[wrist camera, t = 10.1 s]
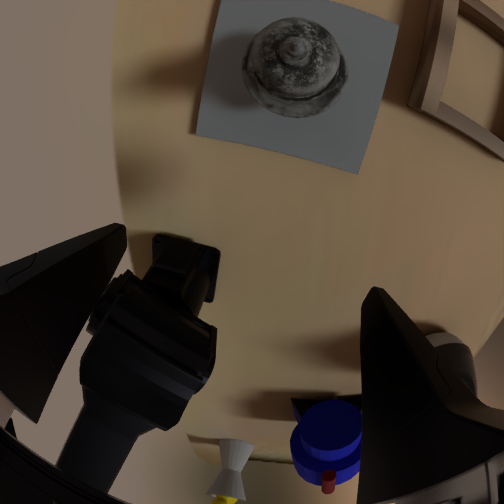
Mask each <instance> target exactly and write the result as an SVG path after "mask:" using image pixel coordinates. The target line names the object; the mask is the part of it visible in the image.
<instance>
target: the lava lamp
mask: <svg viewBox="0 0 504 504" xmlns="http://www.w3.org/2000/svg"><path fill="white" fill-rule="evenodd" d="M219 447H220V456H221V464H222V471H221V472H220V473H219V475H218V476H217V478H216V479H215V481H214V482H213V484H212V485H211V486H210V488H209V489H208V491H207V492H206V494H207V495H210V496H214V497H217V499H215V500H213V501H212V503H211V504H234V503H235V502H236V501H245V500H246V499H245V494H244V489H243V484H242V479H241V474H240V472H241V470H242V469H243V467H244V465H245V463H246V461H247V460H248V458H249V456H250V454H251V453H252V451H253V449H254V445H252V444H250V443H248V442H245V441H241V440H235V439H221V440H219Z"/></svg>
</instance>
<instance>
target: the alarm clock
mask: <svg viewBox="0 0 504 504" xmlns="http://www.w3.org/2000/svg"><path fill="white" fill-rule="evenodd" d="M291 401H292V405H293V408H294V412H295V416H296V420H297V422H298V425H297V426H296V427H295V429H294V430H293V432H292V436H291V439H290V448H291V454H292V458H293V463H294V466H295V468H296V470H297V472H298V474H299V475H300V476H301V477H302V478H303V479H304V480H305V481H307V482H309V483H312V484H314V485H319V486H322V492H323V493H324V494H331V493H332V492H333V491H334V489H335V485H338V484H341V483H343V482H345V481H348V480H350V479H351V478H352V477H353V476H355V475H356V474H357V473H358V472H359V471H360V455H361V434H362V397H360V398H358V399H356V400H354V401H352V402H350V403H349V402H345V401H342V400H328V401H323V402H320V403H318V404H316V405H310V404H307V403H304V402H301V401H298V400H295V399H292V398H291Z"/></svg>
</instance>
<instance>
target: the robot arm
mask: <svg viewBox="0 0 504 504" xmlns="http://www.w3.org/2000/svg"><path fill="white" fill-rule="evenodd" d="M157 239H158V240H159V241H158V240H157ZM126 248H127V235H126V227H125V226H124V225H122V224H119V223H113V224H110V225H107V226H105V227H102V228H99V229H96V230H93V231H91V232H88V233H85V234H82V235H79V236H77V237H74V238H72V239H69V240H66V241H64V242H61V243H59V244H56V245H54V246H51V247H48V248H46V249H44V250H41V251H39V252H38V253H34V254H31V255H29V256H26V257H24V258H22V259H19V260H17V261H14V262H11V263H9V264H6V265H3V266H1V267H0V504H131V503H128V502H125V501H123V500H121V499H118V498H116V497H114V496H111V495H109V494H107V493H108V491H109V489H110V488H111V486H112V484H113V482H114V480H115V478H116V476H117V475H118V473H119V471H120V469H121V467H122V465H123V463H124V462H125V460H126V458H127V456H128V454H129V452H130V450H131V449H132V447H133V445H134V443H135V441H136V440H137V438H138V436H140V435H142V434H144V433H146V432H148V431H150V430H152V429H155V428H159V429H162V430H163V431H167V430H169V429H170V428H172V427H173V426H175V425H176V424H177V423H178V422H179V421H180V418H181V416H182V414H183V412H184V410H185V408H186V406H187V404H188V402H189V400H190V398H191V397H192V395H193V394H196V393H197V392H199V391H200V390H201V389H202V388H203V386H204V385H205V384H206V382H207V380H208V379H209V377H210V375H211V373H212V370H213V368H214V364H215V359H216V341H217V328H216V327H214V326H213V325H211V326H210V325H209V324H207V323H206V322H204V321H202V320H201V319H199V318H198V315H199V312H200V309H201V307H202V304H203V302H207V303H211V302H213V299H214V295H215V288H216V282H217V275H218V269H219V262H220V256H221V253H220V251H219V250H218V249H215V248H211V247H207V246H203V245H199V244H197V243H193V242H189V241H185V240H181V239H177V238H171V237H167V236H163V235H159V234H157V235H155V236H154V237H153V239H152V251H153V264H152V265H151V267H150V268H149V270H148V271H147V273H146V274H145V276H144V277H143V279H142V280H141V279H139V278H138V277H136V276H135V275H134V274H133V272H131V271H130V270H129V269H127V271H126V272H125V273H124V274H123V275H122V274H120V275H119V277H118V278H113V280H112V281H111V278H112V277H113V275H114V272H115V271H116V268H117V267H118V265H119V262H120V261H121V258H122V257H123V255H124V253H125V251H126ZM213 253H215V254H216V255H217V256H215V255H213ZM110 281H111V282H110ZM109 282H110V284H109ZM108 284H109V285H108ZM208 297H209V298H208ZM89 316H90V318H89ZM88 318H89V324H88V326H87V329H86V331H87V332H88V333H90V334H91V335H93V337H92V339H91V340H90V342H89V344H88V346H87V348H86V350H85V351H84V353H83V355H82V357H81V360H80V369H79V370H80V384H81V385H82V391H83V400H84V404H83V407H82V408H81V410H80V413H79V415H78V417H77V419H76V421H75V423H74V425H73V427H72V429H71V431H70V433H69V435H68V437H67V440H66V442H65V444H64V446H63V448H62V450H61V453H60V455H59V457H58V459H57V462H56V464H55V465H53V464H52V463H50V462H48V461H47V460H45V459H44V458H42V457H41V456H39V455H38V454H36V453H35V452H34V451H32V450H31V449H29V448H28V447H27V446H25V445H24V444H23V443H21V442H20V441H18V440H17V438H16V433H15V429H14V425H13V421H12V418H10V416H11V414H12V413H13V411H14V409H16V410H17V411H19V412H20V413H21V414H22V415H24V416H25V417H27V418H28V419H29V420H31V421H32V422H34V423H36V424H37V423H38V421H39V418H40V416H41V413H42V411H43V408H44V406H45V404H46V402H47V399H48V397H49V395H50V393H51V390H52V388H53V386H54V384H55V381H56V380H57V377H58V374H59V373H60V371H61V369H62V367H63V365H64V363H65V361H66V359H67V357H68V355H69V353H70V351H71V349H72V347H73V345H74V343H75V341H76V339H77V337H78V336H79V334H80V332H81V330H82V328H83V327H84V325H85V323H86V321H87V320H88ZM360 356H361V381H362V434H361V455H360V471H359V484H358V494H357V504H389V503H395V504H504V410H501V409H496V408H492V407H489V406H487V405H485V404H484V403H482V402H481V401H480V400H479V399H478V398H477V397H476V396H475V394H474V393H473V392H472V391H471V390H470V389H469V388H468V386H467V385H466V384H465V383H464V382H463V381H462V380H461V378H460V377H459V376H458V375H457V374H456V373H455V372H454V370H453V369H452V368H451V367H450V366H449V364H448V363H447V362H446V361H445V360H444V358H443V357H442V356H441V355H440V353H438V351H437V350H436V349H435V347H434V346H433V345H432V344H431V342H430V341H429V340H428V339H427V338H426V336H425V335H424V334H423V333H422V332H421V331H420V329H419V328H418V327H417V326H416V325H415V324H414V322H413V321H412V320H411V319H410V318H409V317H408V315H407V314H406V313H405V312H404V311H403V310H402V309H401V308H400V306H399V305H398V304H397V303H396V302H395V301H394V300H393V299H392V298H391V296H390V295H389V294H388V293H387V292H386V291H385V290H384V289H383V288H379V287H375V286H374V287H372V288H371V289H370V291H369V293H368V294H367V296H366V298H365V300H364V301H363V303H362V307H361V330H360Z"/></svg>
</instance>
